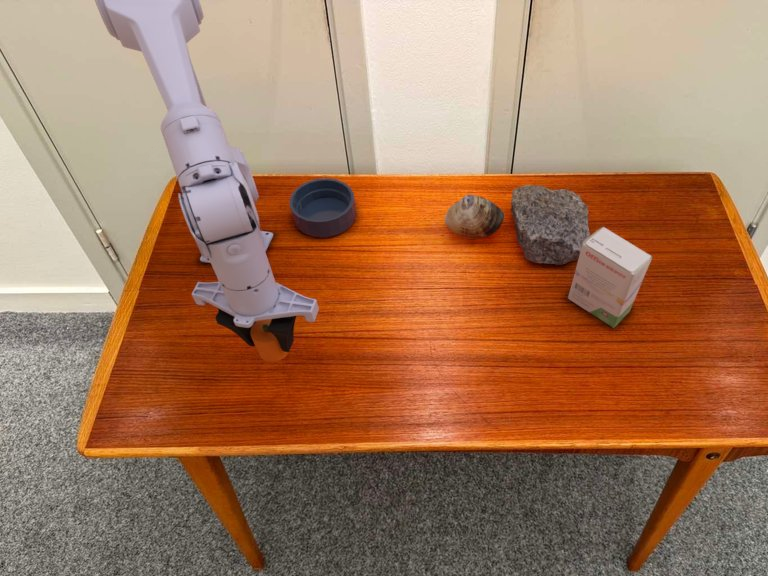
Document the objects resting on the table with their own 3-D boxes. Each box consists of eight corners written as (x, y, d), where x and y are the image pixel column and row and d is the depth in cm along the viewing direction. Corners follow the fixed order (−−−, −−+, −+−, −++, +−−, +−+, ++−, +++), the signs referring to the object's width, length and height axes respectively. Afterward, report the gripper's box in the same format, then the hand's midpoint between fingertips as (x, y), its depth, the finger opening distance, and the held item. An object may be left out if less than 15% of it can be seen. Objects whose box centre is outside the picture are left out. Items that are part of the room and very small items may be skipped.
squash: (253, 359, 80) (243, 336, 76) (264, 334, 83) (255, 311, 79) (283, 364, 80) (275, 341, 76) (293, 339, 82) (286, 315, 78)
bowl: (285, 235, 103) (280, 217, 100) (305, 193, 109) (301, 174, 106) (347, 243, 102) (344, 225, 99) (363, 200, 108) (361, 182, 105)
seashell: (443, 246, 102) (443, 208, 95) (445, 221, 105) (445, 183, 99) (502, 248, 102) (506, 211, 95) (502, 223, 105) (506, 186, 98)
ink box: (566, 298, 95) (579, 243, 86) (586, 280, 98) (601, 224, 88) (613, 329, 92) (633, 275, 82) (633, 309, 94) (654, 254, 85)
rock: (589, 272, 99) (581, 208, 108) (598, 242, 94) (589, 178, 103) (509, 267, 99) (507, 204, 108) (513, 237, 94) (512, 173, 103)
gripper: (165, 289, 68) (205, 359, 79) (295, 308, 66) (316, 377, 77) (193, 242, 72) (226, 315, 83) (315, 260, 70) (333, 332, 81)
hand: (271, 342), depth 80 cm, fingers closed on squash, 4 cm apart
